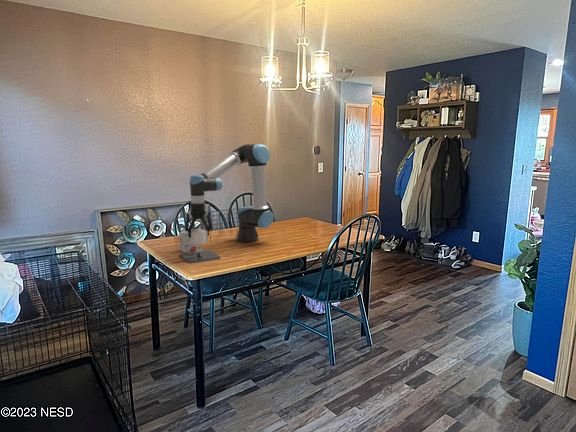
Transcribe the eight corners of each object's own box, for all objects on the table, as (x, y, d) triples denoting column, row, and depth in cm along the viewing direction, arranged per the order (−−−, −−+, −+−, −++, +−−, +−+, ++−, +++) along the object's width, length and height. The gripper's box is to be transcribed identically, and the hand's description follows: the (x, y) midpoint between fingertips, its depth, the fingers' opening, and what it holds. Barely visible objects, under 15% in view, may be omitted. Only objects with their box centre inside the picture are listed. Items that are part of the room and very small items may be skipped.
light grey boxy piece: (203, 240, 230) (203, 227, 228) (208, 243, 223) (207, 230, 222) (189, 241, 225) (189, 229, 224) (194, 244, 219) (194, 231, 217)
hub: (209, 251, 238) (208, 241, 237) (220, 258, 223) (220, 248, 222) (179, 255, 229) (179, 245, 228) (189, 263, 213) (188, 252, 212)
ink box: (191, 248, 246) (190, 230, 244) (196, 249, 242) (195, 231, 240) (179, 250, 240) (178, 232, 238) (183, 252, 236) (182, 233, 234)
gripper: (212, 200, 229) (213, 238, 233) (177, 203, 218) (178, 242, 222) (217, 202, 223) (218, 241, 226) (181, 204, 212) (182, 245, 215)
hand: (199, 242), depth 224 cm, fingers closed on light grey boxy piece, 8 cm apart
